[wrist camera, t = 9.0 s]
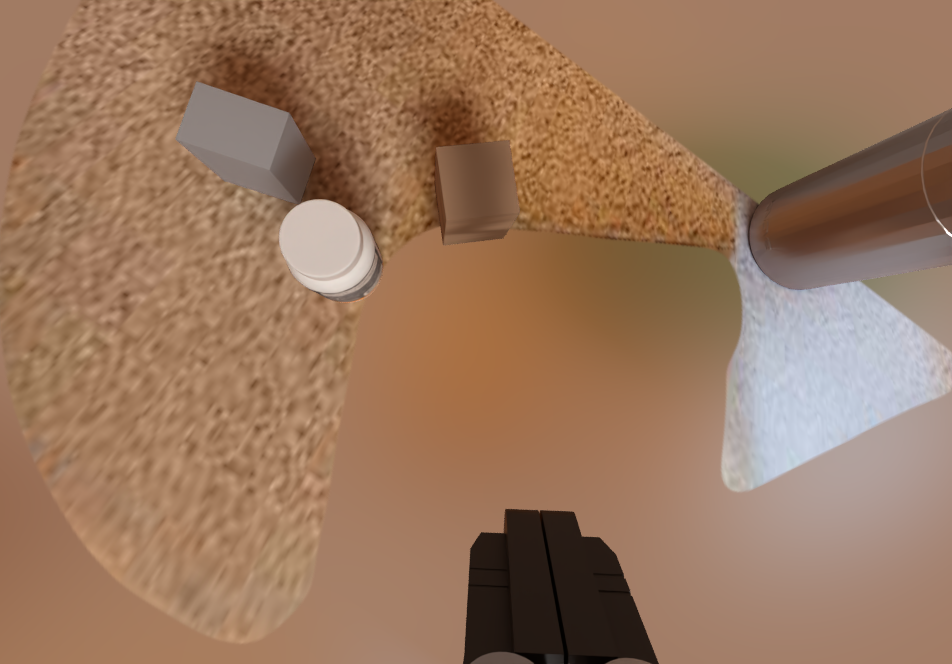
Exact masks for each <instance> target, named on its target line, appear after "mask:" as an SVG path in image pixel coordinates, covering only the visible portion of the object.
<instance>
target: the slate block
mask: <svg viewBox="0 0 952 664" xmlns="http://www.w3.org/2000/svg"><path fill="white" fill-rule="evenodd" d="M176 140H177V141H178V142H179V143H180V144H181V145H183V146H184V147H185V148H186V149H187V150H188V151H190V152H191V153H192V154H193V155H194V156H196V157H197V158H198V159H199V160H200V161H201V162H203V163H204V164H205V165H206V166H207V167H208V168H210V169H211V170H212V171H213V172H214V173H216V174H217V175H218V176H219V177H220V178H221V179H223V180H224V181H226V182H230V183H233V184H236V185H239V186H242V187H245V188H248V189H251V190H254V191H257V192H261V193H264V194H267V195H270V196H273V197H276V198H279V199H282V200H285V201H288V202H292V203H295V204H298V205H299V204H300V203H301V200H302V197H303V194H304V191H305V188H306V185H307V182H308V179H309V176H310V173H311V170H312V167H313V164H314V161H315V157H314V155H313V153H312V151H311V150H310V148H309V146H308V144H307V143H306V141H305V139H304V137H303V136H302V134H301V132H300V130H299V129H298V127H297V125H296V123H295V122H294V120H293V118H292V116H291V115H290V113H288V112H285V111H282V110H279V109H277V108H274V107H271V106H268V105H265V104H262V103H259V102H256V101H253V100H250V99H247V98H244V97H241V96H238V95H235V94H232V93H229V92H226V91H224V90H221V89H218V88H215V87H212V86H209V85H206V84H203V83H200V82H197V81H196V84H195V87H194V89H193V92H192V95H191V98H190V100H189V103H188V106H187V109H186V111H185V114H184V117H183V120H182V122H181V125H180V128H179V130H178V133H177V136H176Z"/></svg>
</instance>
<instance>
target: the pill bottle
mask: <svg viewBox="0 0 952 664" xmlns="http://www.w3.org/2000/svg"><path fill="white" fill-rule="evenodd" d="M279 244H280V249H281V252H282V254H283V256H284V258H285V260H286V262H287V265H288V268H289V270H290V272H291V273H292V274H293V276H294V277H295V278H296V279H297V280H298V281H299V282H300V283H301V284H302V285H304V286H305V287H307V288H308V289H310V290H312V291H314V292H316V293H318V294H320V295H322V296H324V297H326V298H328V299H330V300H333V301H336V302H341V303H352V302H356V301H359V300H362V299H364V298H366V297H367V296H369V295H370V294H371V293H372V292H373V291H374V290H375V289H376V287H377V286H378V284H379V282H380V280H381V277H382V273H383V261H382V257H381V254H380V251H379V248H378V246H377V244H376V242H375V239H374V237H373V235H372V233H371V231H370V229H369V227H368V226H367V224H366V223H365V222H364V221H363V220H362V219H361V218H360V217H359V216H358V215H356V214H355V213H353V212H352V211H350V210H347V209H346V208H345V207H343V206H342V205H340V204H338V203H336V202H333V201H330V200H325V199H314V200H309V201H305V202H303V203H300V204H299V205H297V206H295V207H294V208H293V209H292V210H291V211H290V212H289V213H288V214H287V215H286V216H285V218H284V220H283V222H282V224H281V227H280V231H279Z"/></svg>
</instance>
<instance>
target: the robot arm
mask: <svg viewBox="0 0 952 664" xmlns="http://www.w3.org/2000/svg"><path fill="white" fill-rule="evenodd" d="M750 245H751V250H752V253H753V256H754V258H755V260H756V262H757V264H758V265H759V267H760V268H761V270H762V271H763V272H764V273H765V274H766V275H767V276H768V277H769V278H770V279H771V280H773V281H774V282H776V283H777V284H779V285H781V286H784V287H787V288H789V289H797V290H804V289H812V288H818V287H824V286H830V285H836V284H842V283H848V282H854V281H860V280H866V279H872V278H878V277H884V276H889V275H895V274H901V273H907V272H913V271H919V270H924V269H930V268H936V267H942V266H947V265H952V109H950V110H947V111H945V112H943V113H941V114H939V115H937V116H935V117H932V118H930V119H928V120H926V121H924V122H922V123H919V124H917V125H915V126H913V127H911V128H909V129H907V130H905V131H902V132H900V133H898V134H896V135H894V136H892V137H890V138H887V139H885V140H883V141H881V142H879V143H877V144H875V145H873V146H870V147H868V148H866V149H864V150H862V151H860V152H858V153H855V154H853V155H851V156H849V157H847V158H845V159H843V160H841V161H838V162H836V163H834V164H832V165H830V166H828V167H826V168H823V169H821V170H819V171H817V172H815V173H812V174H810V175H808V176H806V177H804V178H802V179H800V180H798V181H796V182H793V183H791V184H789V185H787V186H785V187H783V188H780V189H778V190H776V191H775V192H773V193H771V194H769V195H768V196H767V197H766V198H765V199H764V200H763V201H762V202H761V203H760V204H759V206H758V207H757V209H756V210H755V213H754V215H753V217H752V220H751V225H750ZM504 519H505V520H504V533H482V532H481V534H480V535H479V536H478V538H477V539H476V541H475V543H474V544H473V545H472V547H471V550H470V567H469V584H468V601H467V618H466V619H467V620H466V637H465V653H464V661H463V664H659V663H658V661H657V658H656V656H655V653H654V650H653V648H652V645H651V643H650V640H649V638H648V635H647V633H646V630H645V628H644V625H643V622H642V620H641V617H640V615H639V612H638V610H637V607H636V605H635V602H634V600H633V597H632V596H631V594H630V589H629V587H628V584H627V582H626V579H624V574H623V572H622V569H621V566H620V564H619V561H618V559H617V556H616V554H615V553H614V552H613V551H612V550H611V549H610V548H609V547H608V546H607V545H606V544H605V543H604V542H603V541H602V540H601V538H599V537H582V536H581V532H580V529H579V526H578V522H577V519H576V516H575V513H574V512H568V511H544V510H540V513H539V511H538V510H518V509H506V510H505V518H504Z"/></svg>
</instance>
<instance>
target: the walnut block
mask: <svg viewBox="0 0 952 664" xmlns="http://www.w3.org/2000/svg"><path fill="white" fill-rule="evenodd" d="M435 191H436V198H437V205H438V212H439V219H440V226H441V233H442V240H443V245H451V244H460V243H468V242H476V241H485V240H493V239H502V238H504V236H505V235H506V233H507V232H508V230H509V229H510V227H511V226H512V224H513V222H514V221H515V219H516V218H517V216H518V215H519V213H520V210H519V203H518V197H517V190H516V183H515V176H514V169H513V163H512V156H511V149H510V142H509V140H506V141H496V142H485V143H475V144H464V145H454V146H443V147H436V162H435Z"/></svg>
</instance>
